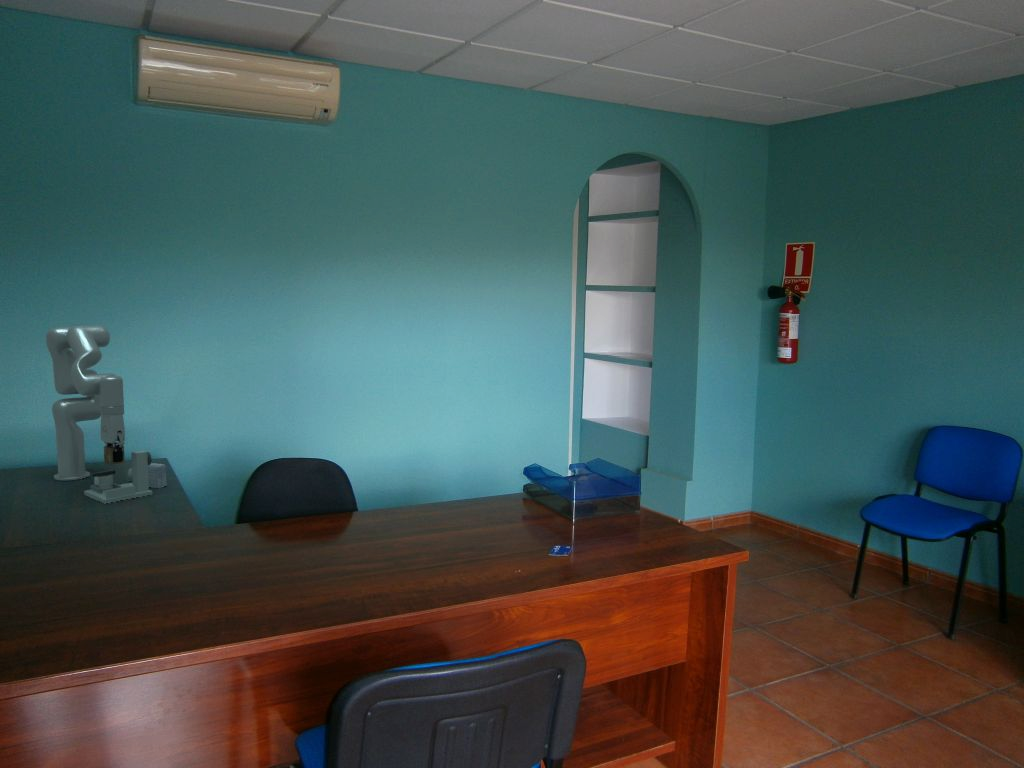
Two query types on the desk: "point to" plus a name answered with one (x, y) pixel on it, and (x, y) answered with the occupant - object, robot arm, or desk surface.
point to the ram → (103, 479)
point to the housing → (111, 455)
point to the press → (130, 489)
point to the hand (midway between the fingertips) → (114, 460)
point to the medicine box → (156, 475)
